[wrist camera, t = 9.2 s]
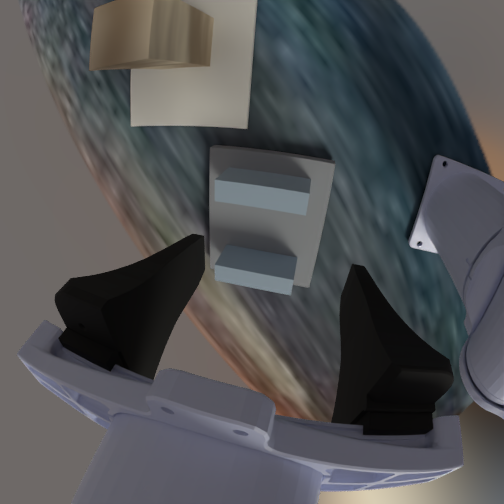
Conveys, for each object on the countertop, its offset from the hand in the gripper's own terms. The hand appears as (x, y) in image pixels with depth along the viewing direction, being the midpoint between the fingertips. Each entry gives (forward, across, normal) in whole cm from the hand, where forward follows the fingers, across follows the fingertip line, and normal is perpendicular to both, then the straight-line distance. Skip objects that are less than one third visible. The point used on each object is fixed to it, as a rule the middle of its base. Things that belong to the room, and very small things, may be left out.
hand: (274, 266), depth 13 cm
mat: (+9, +9, -12) cm, 18 cm away
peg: (+9, +9, -11) cm, 17 cm away
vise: (+9, +2, +2) cm, 10 cm away
